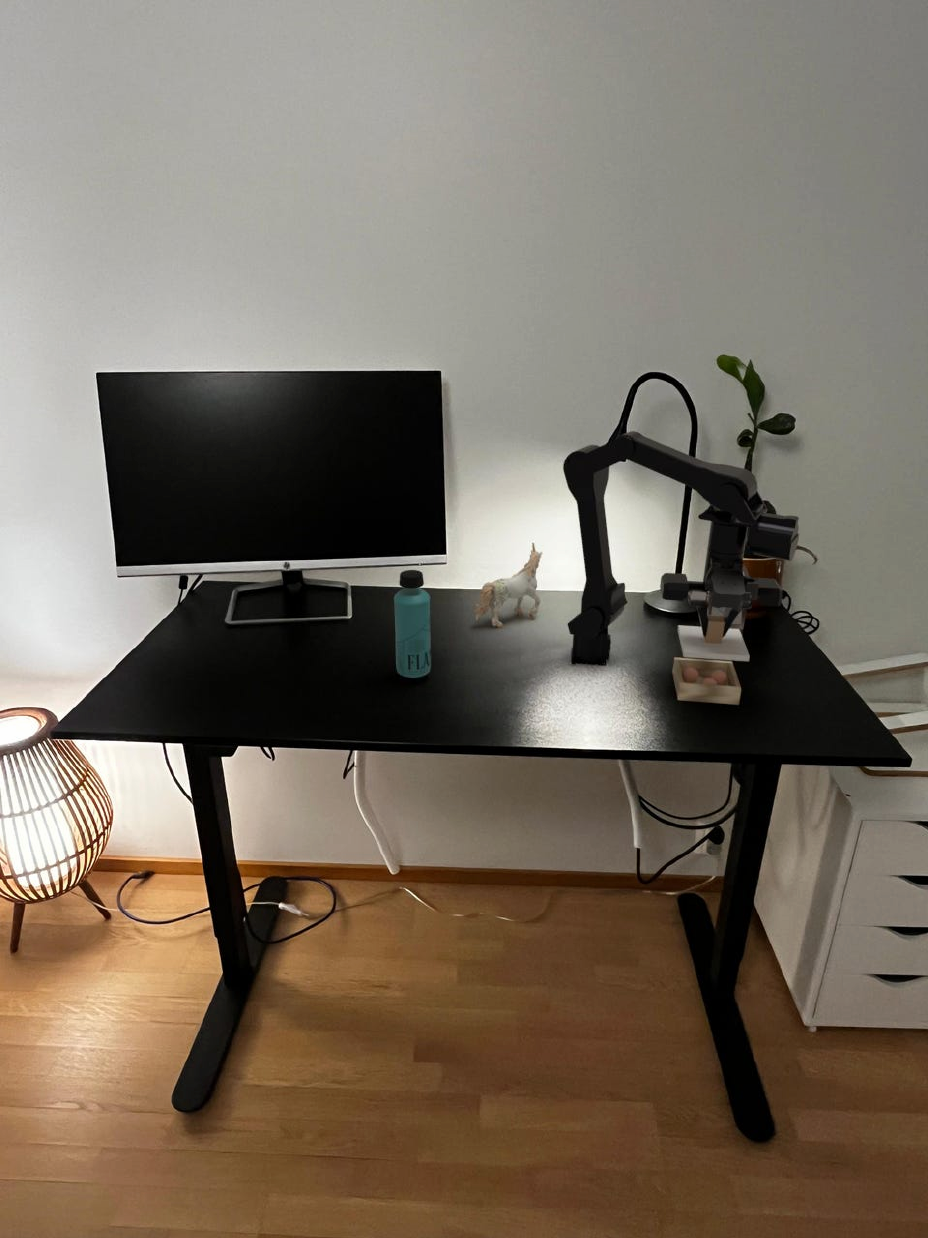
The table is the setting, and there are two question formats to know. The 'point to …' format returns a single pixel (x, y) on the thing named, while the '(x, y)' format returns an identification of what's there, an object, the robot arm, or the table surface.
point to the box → (704, 691)
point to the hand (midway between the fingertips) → (713, 636)
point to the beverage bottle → (412, 626)
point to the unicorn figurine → (511, 590)
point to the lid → (713, 641)
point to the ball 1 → (690, 675)
